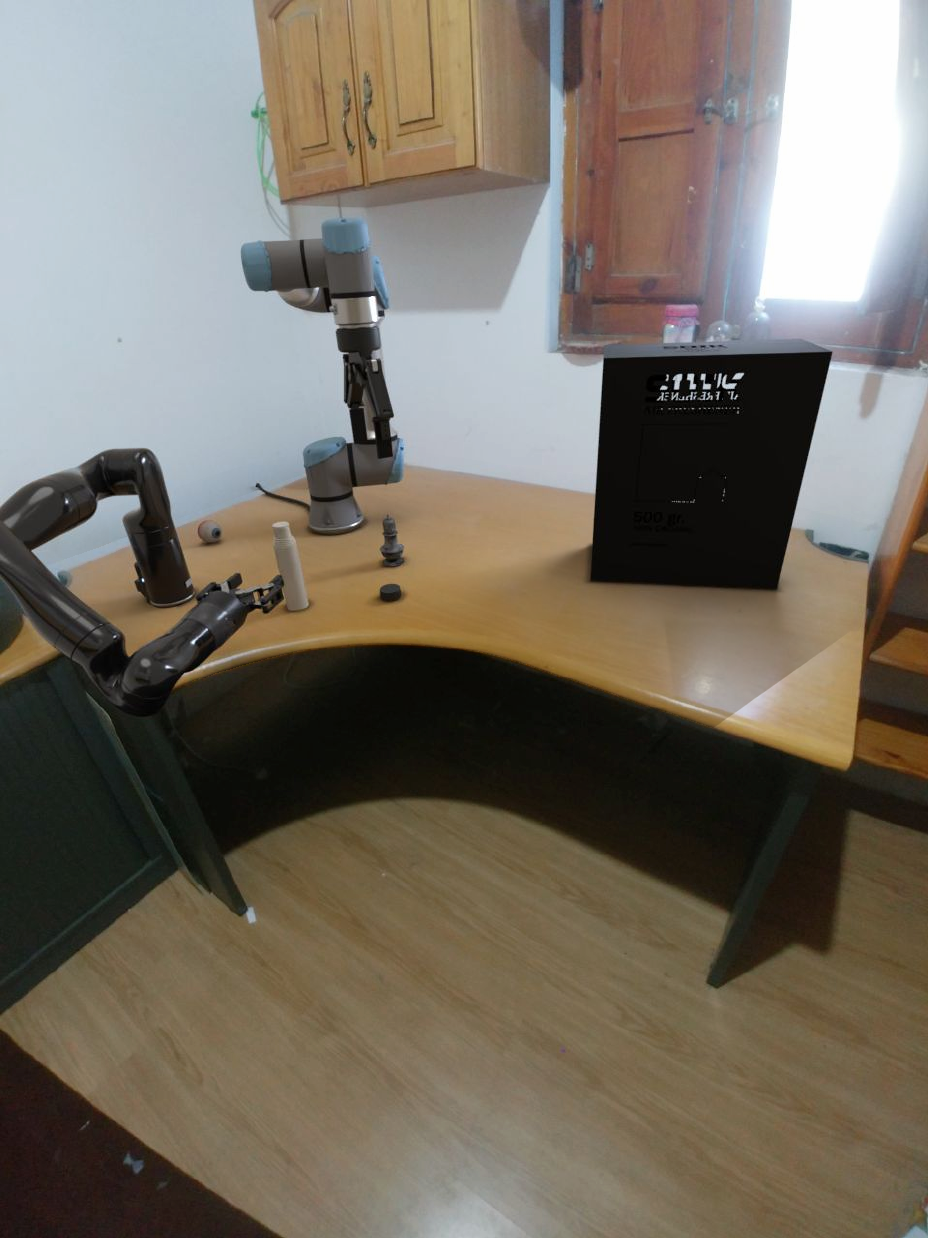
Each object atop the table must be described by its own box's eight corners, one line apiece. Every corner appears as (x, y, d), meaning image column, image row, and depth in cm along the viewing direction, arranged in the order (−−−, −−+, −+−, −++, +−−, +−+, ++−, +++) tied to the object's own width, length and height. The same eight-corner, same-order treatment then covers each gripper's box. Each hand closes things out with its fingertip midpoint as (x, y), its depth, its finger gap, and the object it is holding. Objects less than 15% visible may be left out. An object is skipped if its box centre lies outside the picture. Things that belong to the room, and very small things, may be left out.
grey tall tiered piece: (401, 567, 143) (396, 519, 137) (378, 566, 144) (371, 518, 138) (408, 556, 148) (403, 510, 142) (385, 556, 149) (379, 509, 143)
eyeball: (211, 547, 159) (205, 526, 156) (196, 543, 162) (190, 522, 159) (229, 539, 163) (224, 518, 160) (214, 536, 166) (209, 515, 164)
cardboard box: (756, 549, 141) (800, 338, 118) (776, 589, 124) (832, 351, 101) (592, 544, 148) (604, 344, 126) (590, 580, 131) (603, 357, 109)
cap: (383, 592, 132) (381, 583, 131) (403, 591, 132) (402, 583, 131) (378, 601, 128) (377, 593, 127) (399, 601, 128) (398, 593, 127)
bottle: (302, 611, 126) (284, 529, 117) (283, 610, 127) (264, 527, 118) (312, 601, 130) (296, 520, 121) (293, 599, 131) (276, 519, 122)
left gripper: (180, 639, 103) (231, 593, 116) (255, 645, 100) (299, 597, 113) (167, 600, 99) (221, 558, 112) (244, 605, 96) (291, 561, 109)
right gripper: (316, 324, 112) (334, 440, 123) (359, 331, 93) (376, 468, 103) (354, 321, 115) (369, 434, 125) (404, 327, 95) (416, 460, 106)
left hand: (260, 578), depth 113 cm, fingers open, 8 cm apart
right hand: (372, 449), depth 114 cm, fingers open, 13 cm apart
